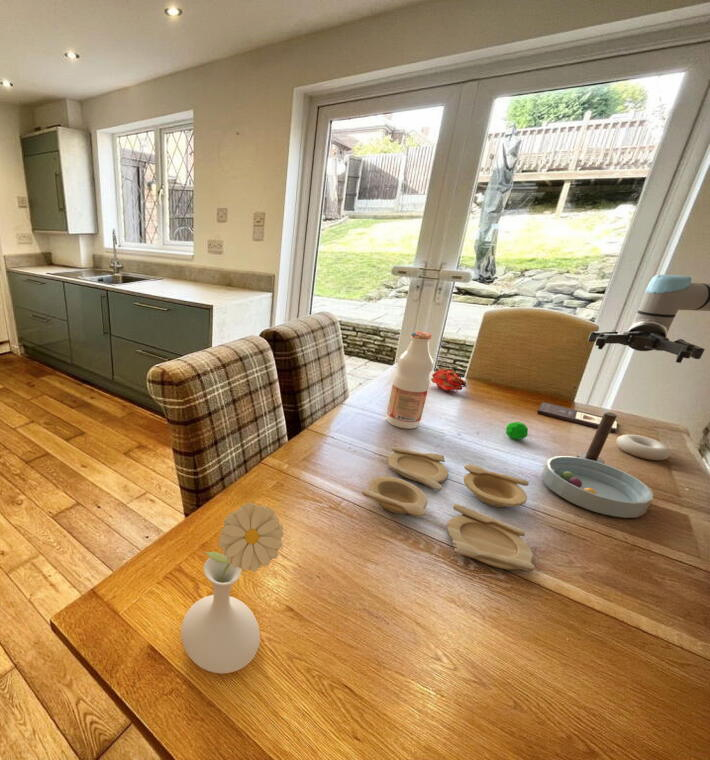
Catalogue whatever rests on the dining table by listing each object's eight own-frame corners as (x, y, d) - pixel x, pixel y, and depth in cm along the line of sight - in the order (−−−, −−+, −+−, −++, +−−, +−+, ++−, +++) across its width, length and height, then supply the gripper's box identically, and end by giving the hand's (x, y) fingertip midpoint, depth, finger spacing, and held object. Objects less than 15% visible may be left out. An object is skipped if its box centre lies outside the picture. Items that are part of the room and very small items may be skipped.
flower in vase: (172, 672, 53) (167, 527, 44) (190, 598, 64) (189, 468, 54) (269, 692, 51) (286, 543, 42) (271, 612, 61) (285, 479, 52)
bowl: (646, 496, 88) (655, 480, 86) (640, 533, 78) (650, 515, 76) (549, 463, 100) (555, 448, 98) (532, 490, 90) (538, 474, 88)
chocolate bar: (542, 401, 132) (616, 419, 120) (541, 404, 132) (615, 422, 121) (538, 410, 126) (616, 429, 114) (537, 412, 127) (615, 432, 115)
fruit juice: (378, 417, 123) (395, 330, 113) (404, 413, 126) (422, 328, 115) (399, 431, 115) (420, 338, 104) (426, 427, 117) (449, 336, 107)
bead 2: (581, 485, 90) (585, 479, 88) (577, 492, 89) (581, 486, 87) (568, 479, 91) (572, 473, 90) (564, 486, 90) (568, 480, 89)
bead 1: (563, 479, 93) (556, 478, 93) (566, 469, 93) (559, 469, 92) (575, 483, 91) (568, 483, 90) (578, 473, 91) (571, 473, 90)
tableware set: (531, 593, 65) (539, 574, 63) (352, 517, 81) (355, 501, 80) (529, 487, 91) (534, 472, 89) (394, 446, 107) (396, 433, 106)
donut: (626, 440, 111) (605, 446, 108) (631, 429, 110) (610, 435, 107) (675, 459, 103) (654, 466, 99) (682, 447, 101) (661, 454, 98)
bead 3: (601, 491, 85) (588, 483, 86) (596, 496, 84) (582, 488, 86) (595, 498, 86) (582, 490, 88) (590, 503, 85) (577, 495, 87)
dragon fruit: (427, 387, 150) (459, 402, 142) (422, 379, 144) (454, 394, 136) (441, 368, 149) (474, 383, 141) (436, 360, 144) (470, 374, 135)
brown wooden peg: (605, 465, 100) (628, 415, 94) (598, 470, 97) (621, 420, 92) (580, 455, 104) (601, 407, 98) (572, 461, 101) (593, 412, 96)
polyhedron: (529, 442, 109) (535, 427, 108) (511, 442, 110) (516, 427, 108) (516, 433, 114) (521, 419, 112) (499, 433, 114) (504, 418, 112)
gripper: (708, 359, 102) (710, 378, 89) (581, 339, 120) (567, 352, 107) (723, 331, 99) (727, 347, 86) (590, 314, 117) (577, 325, 104)
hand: (639, 350), depth 97 cm, fingers open, 13 cm apart
